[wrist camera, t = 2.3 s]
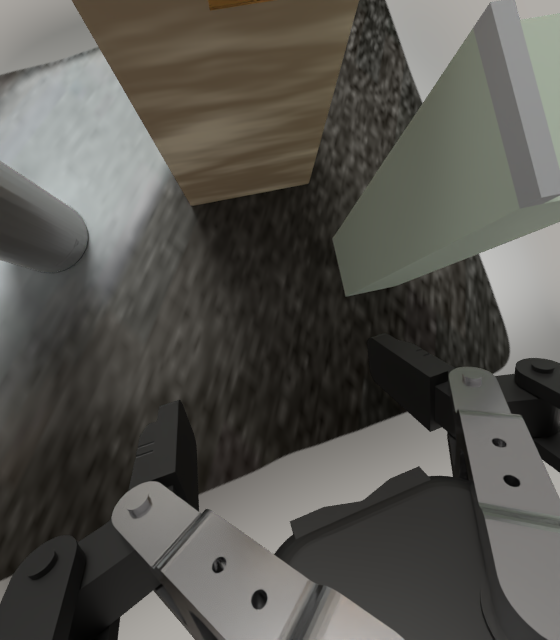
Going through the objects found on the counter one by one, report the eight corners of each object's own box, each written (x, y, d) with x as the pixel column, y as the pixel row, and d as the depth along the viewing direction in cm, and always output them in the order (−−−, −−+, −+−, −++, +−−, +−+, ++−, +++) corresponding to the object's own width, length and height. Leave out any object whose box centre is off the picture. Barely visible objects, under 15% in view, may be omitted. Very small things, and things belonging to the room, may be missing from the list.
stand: (308, 183, 41) (475, -426, 8) (191, 206, 40) (-146, -374, 7) (286, 85, 42) (359, -845, 9) (170, 106, 41) (-227, -842, 8)
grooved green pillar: (395, 286, 41) (706, 163, 12) (345, 296, 41) (541, 197, 12) (382, 228, 41) (652, -25, 12) (332, 238, 41) (490, 2, 12)
